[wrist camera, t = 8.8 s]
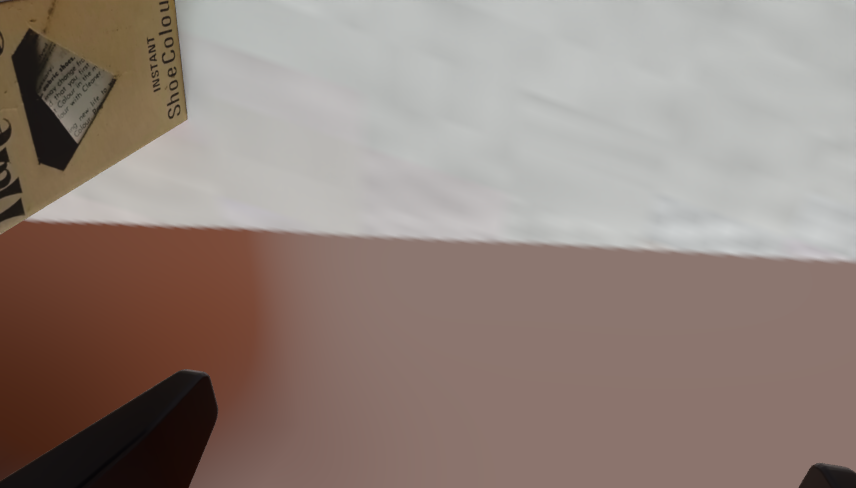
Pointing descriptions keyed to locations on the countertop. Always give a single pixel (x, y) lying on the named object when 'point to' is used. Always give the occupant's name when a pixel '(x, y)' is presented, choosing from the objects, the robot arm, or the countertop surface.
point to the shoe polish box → (81, 92)
